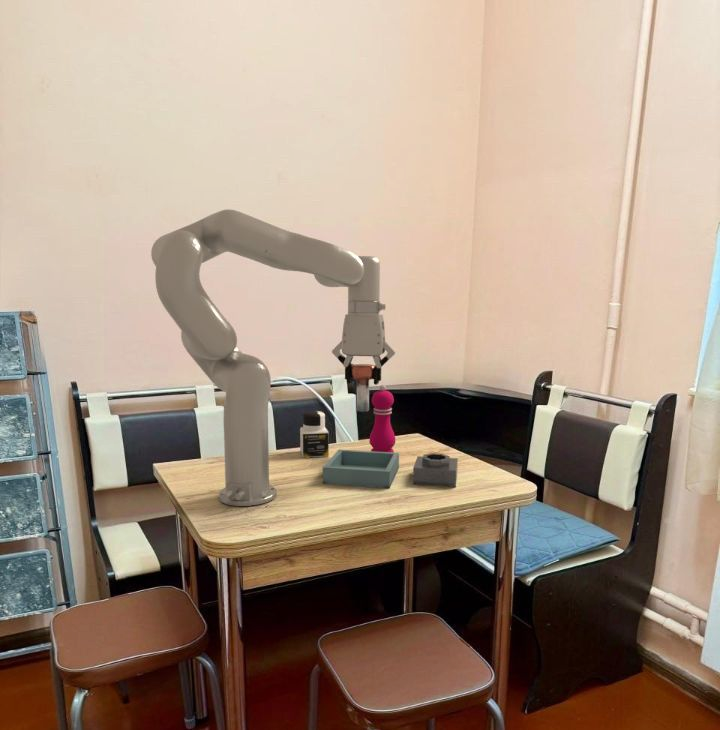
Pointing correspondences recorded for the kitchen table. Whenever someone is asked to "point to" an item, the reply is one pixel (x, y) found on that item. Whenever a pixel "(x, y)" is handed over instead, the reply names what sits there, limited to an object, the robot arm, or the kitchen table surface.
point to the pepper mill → (382, 422)
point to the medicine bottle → (314, 435)
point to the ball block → (435, 470)
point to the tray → (361, 468)
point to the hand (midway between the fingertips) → (363, 382)
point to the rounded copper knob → (362, 384)
